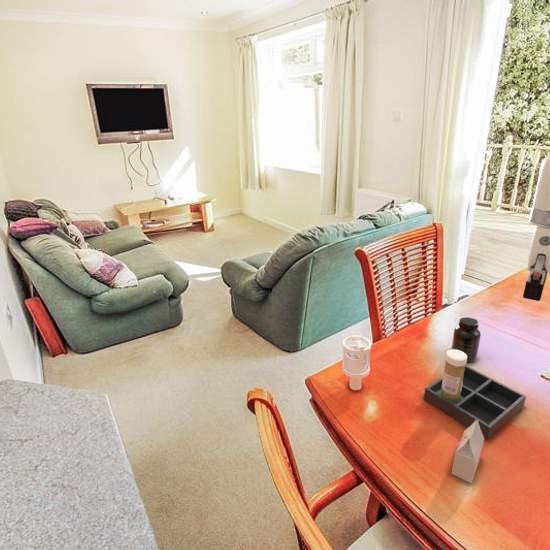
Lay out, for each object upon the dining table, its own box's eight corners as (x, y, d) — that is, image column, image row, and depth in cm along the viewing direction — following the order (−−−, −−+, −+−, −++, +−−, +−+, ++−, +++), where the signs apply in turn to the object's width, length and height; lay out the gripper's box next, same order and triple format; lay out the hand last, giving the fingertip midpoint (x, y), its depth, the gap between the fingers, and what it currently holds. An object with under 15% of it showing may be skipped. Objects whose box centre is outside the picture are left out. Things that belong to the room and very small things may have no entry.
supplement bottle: (451, 347, 114) (456, 313, 109) (476, 352, 111) (483, 317, 106) (449, 360, 108) (455, 324, 103) (476, 365, 105) (483, 329, 100)
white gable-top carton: (479, 459, 78) (487, 423, 74) (471, 483, 73) (479, 445, 69) (460, 451, 80) (467, 415, 76) (451, 473, 75) (458, 436, 71)
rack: (523, 407, 90) (526, 396, 89) (487, 439, 82) (490, 427, 81) (460, 373, 102) (462, 363, 101) (423, 399, 94) (425, 388, 93)
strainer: (347, 397, 97) (348, 348, 91) (338, 379, 103) (339, 333, 97) (373, 393, 97) (375, 344, 91) (363, 376, 104) (365, 329, 98)
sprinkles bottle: (463, 400, 92) (471, 355, 87) (452, 408, 90) (460, 362, 85) (446, 390, 96) (453, 346, 91) (435, 398, 94) (442, 353, 88)
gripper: (572, 230, 70) (550, 310, 76) (575, 209, 82) (556, 280, 89) (525, 225, 74) (508, 301, 81) (535, 206, 86) (519, 274, 93)
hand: (533, 290), depth 85 cm, fingers open, 9 cm apart
